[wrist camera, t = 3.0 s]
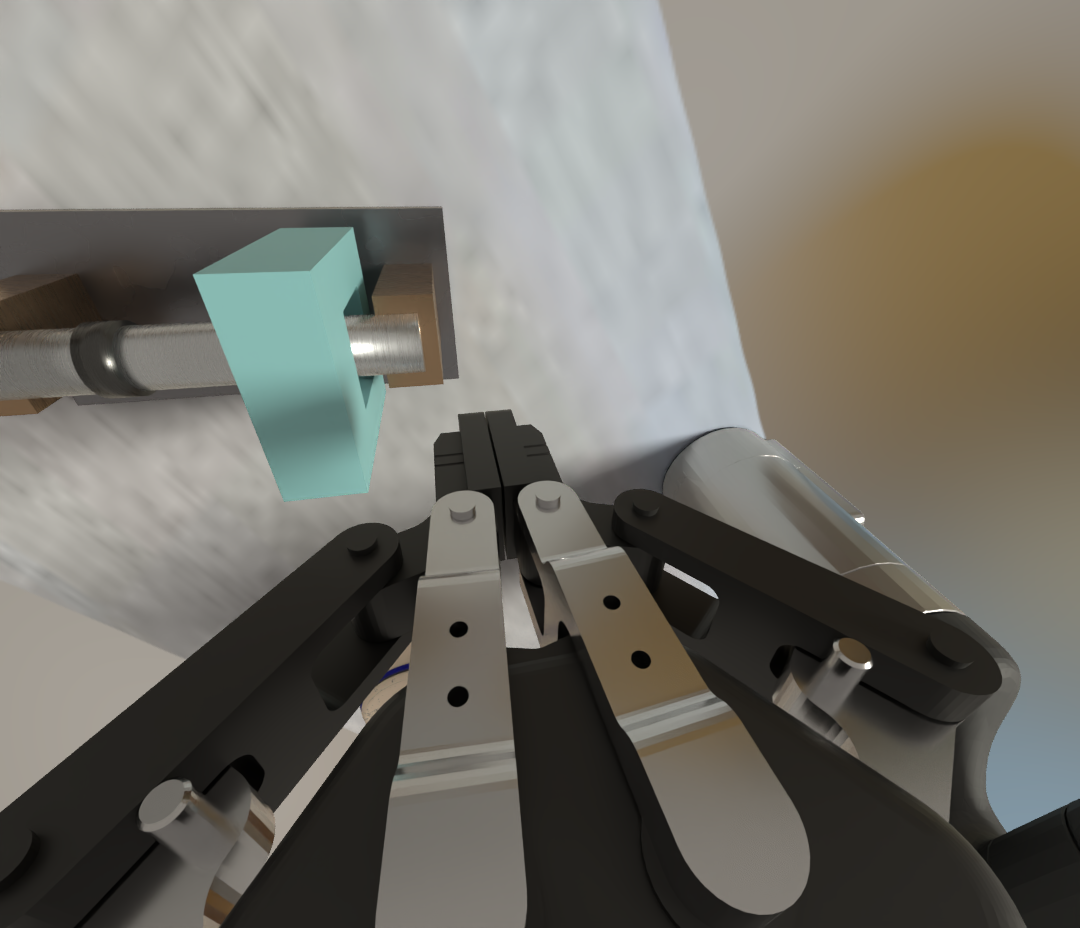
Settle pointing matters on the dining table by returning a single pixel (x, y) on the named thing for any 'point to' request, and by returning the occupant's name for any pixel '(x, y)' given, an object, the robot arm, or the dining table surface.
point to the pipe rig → (195, 300)
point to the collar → (299, 356)
